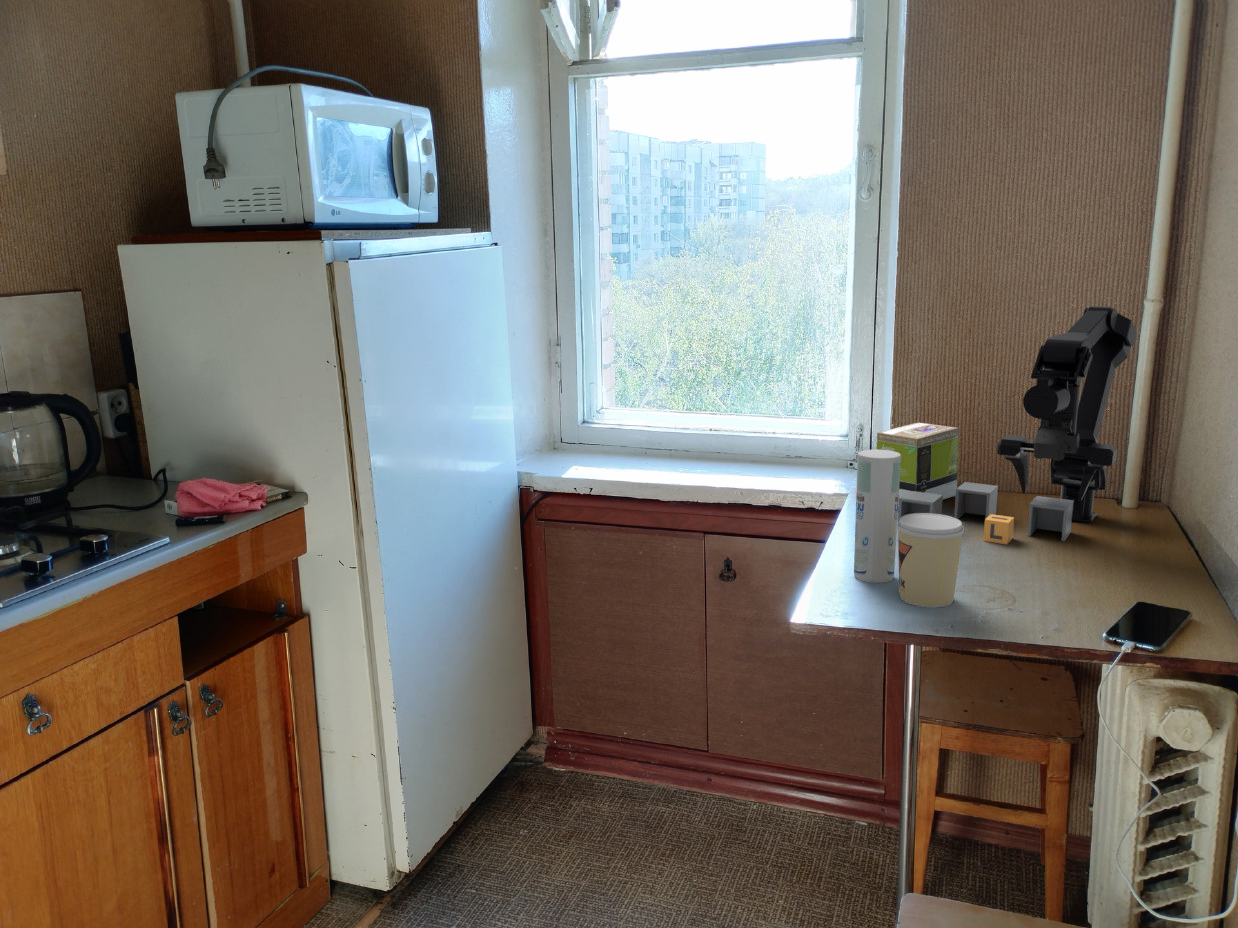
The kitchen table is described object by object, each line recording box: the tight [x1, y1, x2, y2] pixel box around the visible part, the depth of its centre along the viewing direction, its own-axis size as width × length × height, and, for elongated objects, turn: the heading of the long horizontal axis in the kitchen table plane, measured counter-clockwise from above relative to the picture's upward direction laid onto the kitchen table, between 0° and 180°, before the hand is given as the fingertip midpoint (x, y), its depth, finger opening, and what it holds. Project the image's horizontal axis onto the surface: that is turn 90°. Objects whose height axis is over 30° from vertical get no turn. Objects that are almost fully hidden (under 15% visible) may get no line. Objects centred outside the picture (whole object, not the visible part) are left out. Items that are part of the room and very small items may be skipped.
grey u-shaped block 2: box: [897, 491, 944, 530], centre depth 179 cm, size 6×6×6 cm
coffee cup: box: [897, 513, 965, 609], centre depth 143 cm, size 9×9×12 cm
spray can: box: [853, 449, 901, 584], centre depth 152 cm, size 6×6×20 cm
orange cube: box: [982, 514, 1015, 545], centre depth 171 cm, size 4×4×4 cm
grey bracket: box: [1026, 495, 1074, 542], centre depth 174 cm, size 6×6×6 cm
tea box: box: [876, 422, 960, 505], centre depth 198 cm, size 15×10×15 cm, turn 130°
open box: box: [953, 481, 999, 520], centre depth 185 cm, size 6×6×6 cm
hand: (1052, 497), depth 173 cm, fingers open, 9 cm apart
